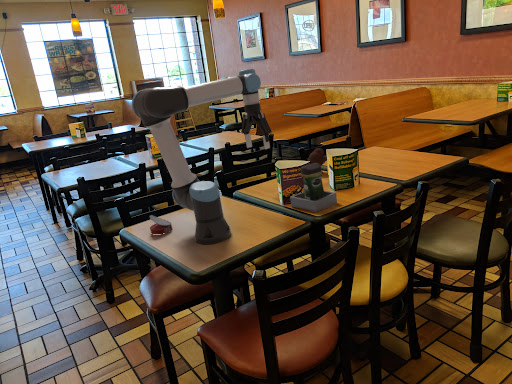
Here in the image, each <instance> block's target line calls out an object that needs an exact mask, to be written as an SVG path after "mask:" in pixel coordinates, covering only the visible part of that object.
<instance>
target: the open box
mask: <svg viewBox="0 0 512 384" xmlns="http://www.w3.org/2000/svg"><path fill="white" fill-rule="evenodd" d="M301 192H302V193H301ZM301 192H298V193H296V194H294V195H291V196H290V198H289V199H290V206H291V208H294V207H296V208H295V209H298V208H301V209H300V210H302V209H305V210H304V211H307V210H310V211H309V212H311V211H314V212H313V213H315V212H317V213H319V212H321V211H323V210H325V209H327V208H329V206H330V207H332V206H334V205H337V203H338V197H337V192H336V191H335V192H334V191H328V190H324V193H325V197H323V198H321V199H319V200H316V201H312V200H307V199H304V192H303V191H301ZM331 205H332V206H331ZM322 209H323V210H322ZM320 210H321V211H320ZM318 211H319V212H318Z"/></svg>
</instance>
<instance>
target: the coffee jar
mask: <svg viewBox="0 0 512 384" xmlns="http://www.w3.org/2000/svg"><path fill="white" fill-rule="evenodd" d="M322 171H323V170H322V165H320V164H318V163H313V164H310V163H309V164H306V165H302V166H301V167H300V176H301V178H302V181H303V182H302V183H303V191H304V199H307V200H312V201H316V200H319V199H321V198H323V197H325V193H324V191H325V189H324V185H323V179H322V175H323V173H322Z"/></svg>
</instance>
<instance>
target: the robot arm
mask: <svg viewBox="0 0 512 384" xmlns="http://www.w3.org/2000/svg"><path fill="white" fill-rule="evenodd" d="M261 84H262V83H261V77H260V76H259V75H258V74H257V73H256V70H255V69H254V68H249V69H242V70H239V71H238V75H231V76H224V77H220V78H219V79H217V80H212V81H207V82H204V83H203V82H202V83H199V84H194V85H188V86H184V87H183V86H182V85H175V86H168V87H167V86H163V87H161V86H160V87H159V86H158V87H157V86H156V87H150V88H149V87H147V88H146V87H145V88H144V89H141V90H139V91H136V93H135V94H134V95H133V97H132V99H131V100H132V101H131V108H132V111H133V113H134V114H135V115H136V116H137V117H138V118H140V120H141V122H142V125H143V127H144V128H146V129H148V130H149V131H150V133H151V136H152V138H153V141H154V143H156V144H155V145H156V146H157V149H158V151H159V153H160V154H161V158H162V159H163V161H164V164H165V166H166V169H167V170H168V172H169V175H170V177H171V179H172V182H171V184H170V186H171V189H172V192H171V194H172V199H173V200H174V202H175V203H176V204H177V205H178V206H180V207H181V208H183V209H187V210H189V211H193V214H194V217H195V222H196V223H195V232H194V239H195V242H196V243H198V244H199V243H200V245H212V244H217V243H221V242H223V241H226V240H227V239H228V238H230V237H231V235H232V231H231V227H230V225H229V224H228V222H227V220H226V219H225V216H224V211H223V205H222V201H221V195H220V194H221V193H220V190H219V186H218V184H217V183H215V182H213V181H211V180H207V181H205V180H201V181H200V180H199V178H198V177H197V174H195V173H193V172H192V171H191V169H190V167H189V164H188V162H187V159H186V157H185V155H184V153H183V149H182V147H181V145H180V143H179V141H178V138H177V136H176V134H175V131H174V128H173V126H172V124H171V119H172V116H173V115H174V116H175V114H179V113H182V112H186V111H188V110H189V108H191V107H195V106H199V105H202V104H206V103H207V104H208V103H210V102H215V101H219V100H224V99H227V98H231V97H235V96H239V95H242V102H243V104H244V105H243V107H244V112H245V113H244V114H242V125H241V130H240V131H241V134H243V135H244V138H245V143H246V148H247V149H249V148H252V147H253V143H252V137H251V133H250V132H251V128H252V126H253V124H255V125H257V127H258V128H259V129H260V131H261V132H262V139H263V141H262V142H263V146H264V150H268V149H271V145H270V144H271V143H270V134H271V133H272V129H271V127H270V124H269V122H268V120H267V118H266V114H265V113H264V112H262V113H260V111H261V110H262V109H261V103H260V96H259V89H260V88H261Z"/></svg>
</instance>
